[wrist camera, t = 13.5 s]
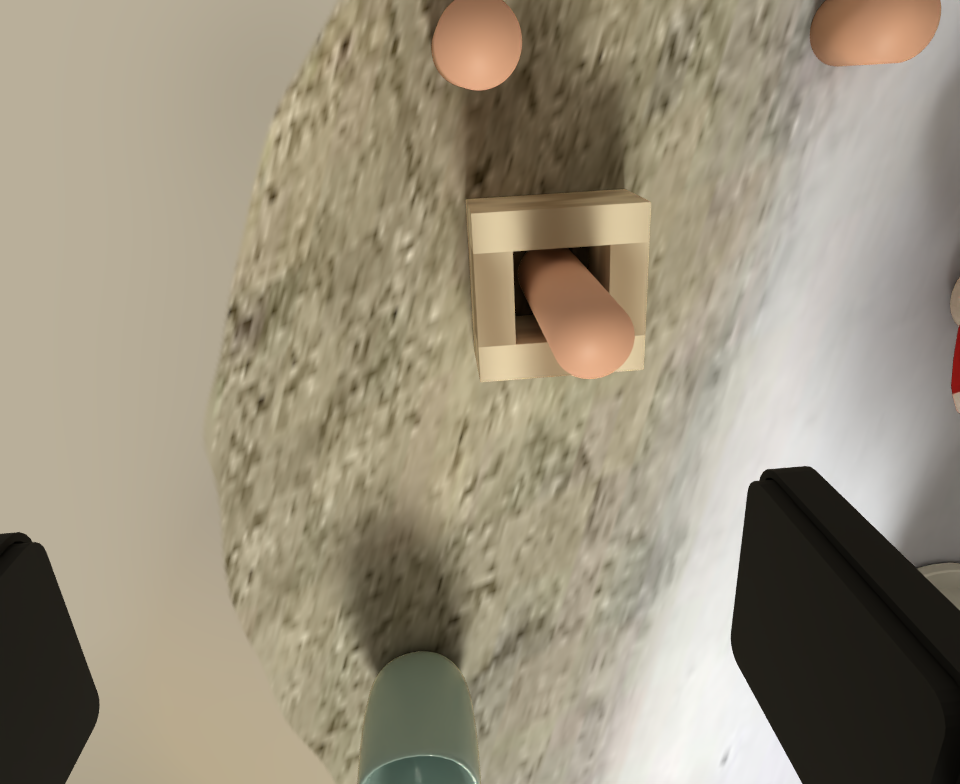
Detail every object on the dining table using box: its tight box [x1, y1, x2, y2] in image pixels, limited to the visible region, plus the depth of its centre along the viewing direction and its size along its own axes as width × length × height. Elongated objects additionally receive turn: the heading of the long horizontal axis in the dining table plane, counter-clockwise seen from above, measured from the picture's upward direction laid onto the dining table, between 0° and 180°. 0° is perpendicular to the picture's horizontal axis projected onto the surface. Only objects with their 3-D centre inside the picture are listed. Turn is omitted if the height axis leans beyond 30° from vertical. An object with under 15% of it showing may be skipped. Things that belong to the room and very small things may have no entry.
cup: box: [357, 651, 481, 784], centre depth 48 cm, size 8×8×10 cm
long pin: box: [518, 248, 635, 379], centre depth 35 cm, size 4×4×12 cm
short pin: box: [810, 0, 941, 66], centre depth 35 cm, size 4×4×5 cm
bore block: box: [466, 189, 651, 382], centre depth 39 cm, size 9×9×5 cm
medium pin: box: [431, 0, 522, 90], centre depth 32 cm, size 4×4×8 cm
